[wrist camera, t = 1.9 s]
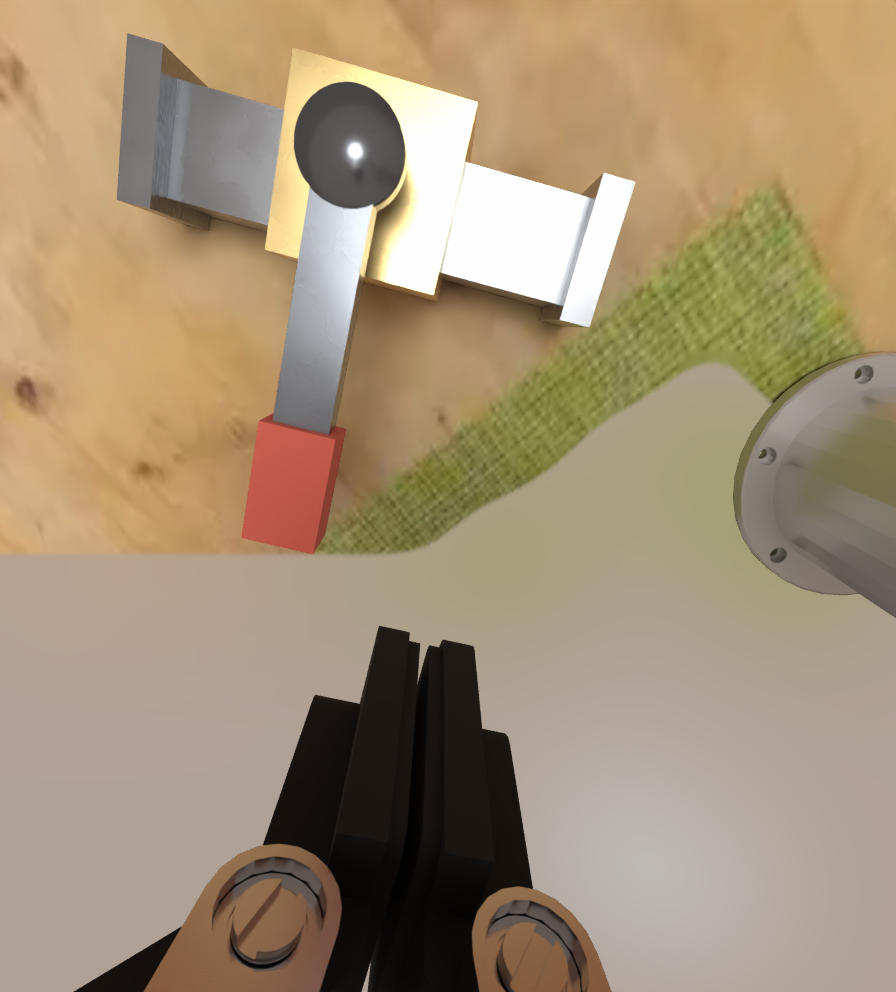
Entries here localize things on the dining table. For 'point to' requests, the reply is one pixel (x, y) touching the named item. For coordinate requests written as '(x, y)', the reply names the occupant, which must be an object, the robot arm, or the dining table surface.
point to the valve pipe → (398, 227)
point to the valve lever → (323, 309)
